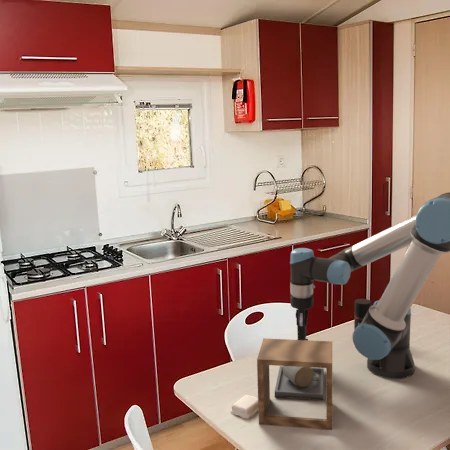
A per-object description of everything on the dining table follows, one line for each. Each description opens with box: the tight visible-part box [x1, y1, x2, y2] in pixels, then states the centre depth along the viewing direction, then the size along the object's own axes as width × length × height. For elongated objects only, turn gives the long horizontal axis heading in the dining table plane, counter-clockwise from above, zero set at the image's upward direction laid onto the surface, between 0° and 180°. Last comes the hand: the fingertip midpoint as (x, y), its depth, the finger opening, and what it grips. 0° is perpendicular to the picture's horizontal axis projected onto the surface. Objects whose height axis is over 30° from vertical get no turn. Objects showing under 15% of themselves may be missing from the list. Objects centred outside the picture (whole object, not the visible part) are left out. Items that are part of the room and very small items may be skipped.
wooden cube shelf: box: [256, 338, 333, 431], centre depth 153 cm, size 20×14×20 cm
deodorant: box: [353, 298, 372, 331], centre depth 202 cm, size 6×6×15 cm
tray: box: [274, 366, 325, 401], centre depth 171 cm, size 14×17×2 cm
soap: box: [230, 394, 258, 419], centre depth 158 cm, size 9×7×3 cm
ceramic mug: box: [283, 366, 319, 387], centre depth 171 cm, size 11×8×8 cm
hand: (302, 360), depth 184 cm, fingers closed
